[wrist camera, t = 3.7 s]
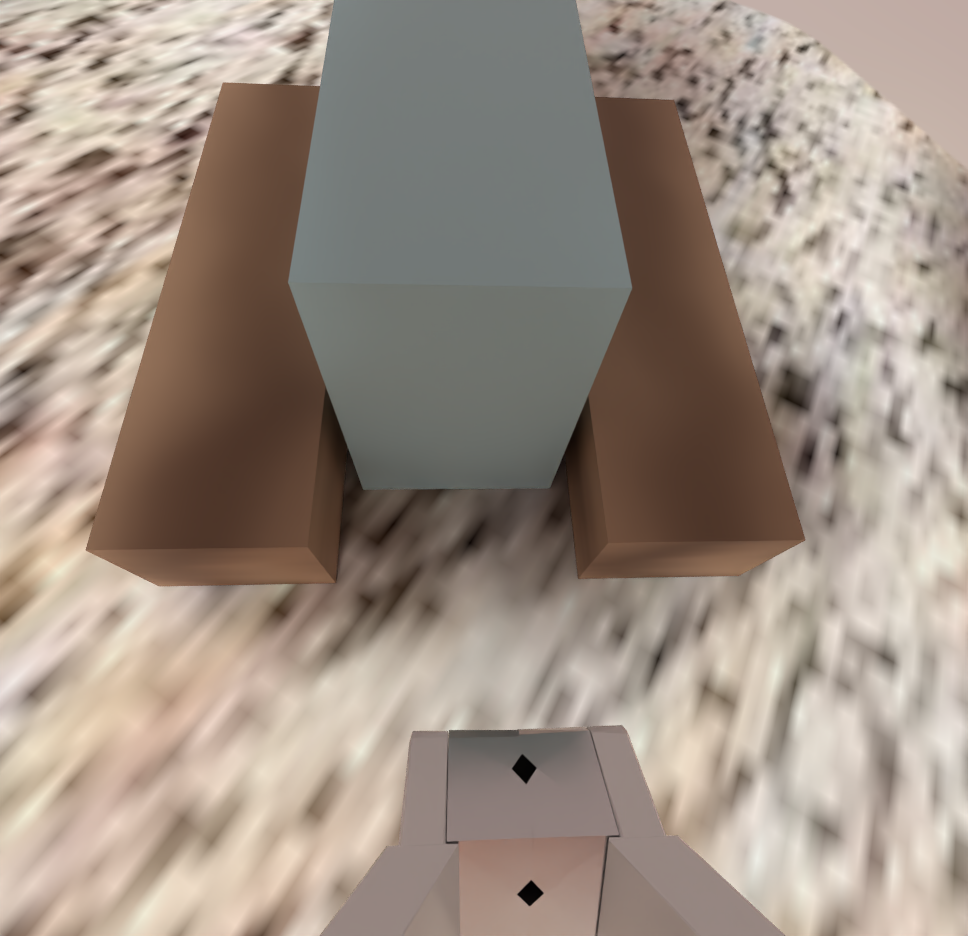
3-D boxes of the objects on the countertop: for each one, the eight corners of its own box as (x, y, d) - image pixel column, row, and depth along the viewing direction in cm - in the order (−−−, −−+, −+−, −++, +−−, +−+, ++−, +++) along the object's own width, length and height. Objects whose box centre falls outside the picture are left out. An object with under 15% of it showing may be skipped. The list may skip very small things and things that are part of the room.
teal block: (363, 490, 17) (287, 282, 9) (381, 224, 23) (343, -58, 14) (549, 489, 18) (632, 288, 10) (525, 228, 23) (566, -45, 15)
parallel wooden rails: (159, 586, 16) (85, 550, 12) (253, 169, 23) (222, 82, 20) (738, 575, 17) (805, 540, 14) (645, 180, 24) (673, 99, 21)
